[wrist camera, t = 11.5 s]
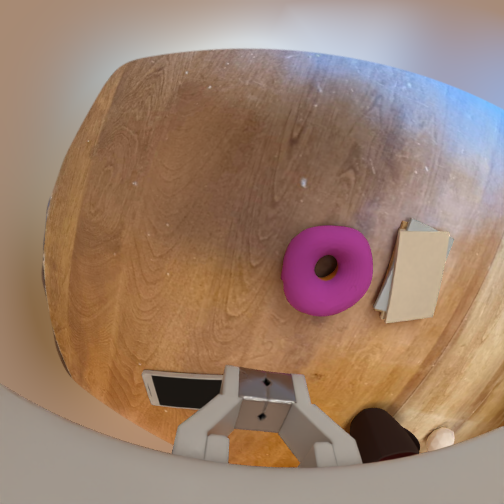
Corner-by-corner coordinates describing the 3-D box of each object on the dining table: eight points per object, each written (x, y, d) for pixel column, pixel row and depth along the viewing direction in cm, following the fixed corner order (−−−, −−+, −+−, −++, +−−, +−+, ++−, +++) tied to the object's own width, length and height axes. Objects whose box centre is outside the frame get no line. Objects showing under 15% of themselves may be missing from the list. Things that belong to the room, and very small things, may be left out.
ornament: (433, 423, 44) (462, 433, 37) (436, 424, 48) (462, 432, 41) (418, 451, 42) (446, 461, 36) (422, 449, 46) (448, 458, 40)
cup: (359, 397, 39) (381, 453, 28) (416, 401, 41) (442, 445, 29) (331, 433, 42) (344, 485, 31) (388, 434, 44) (406, 478, 32)
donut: (368, 223, 31) (385, 233, 27) (357, 303, 34) (369, 321, 30) (281, 220, 31) (286, 229, 27) (276, 304, 34) (280, 323, 30)
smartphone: (248, 407, 39) (248, 411, 38) (152, 401, 39) (151, 405, 38) (247, 374, 37) (247, 379, 36) (142, 369, 37) (140, 373, 36)
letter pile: (396, 213, 31) (404, 216, 29) (453, 231, 31) (462, 235, 30) (364, 314, 35) (369, 321, 33) (421, 320, 35) (428, 327, 33)
